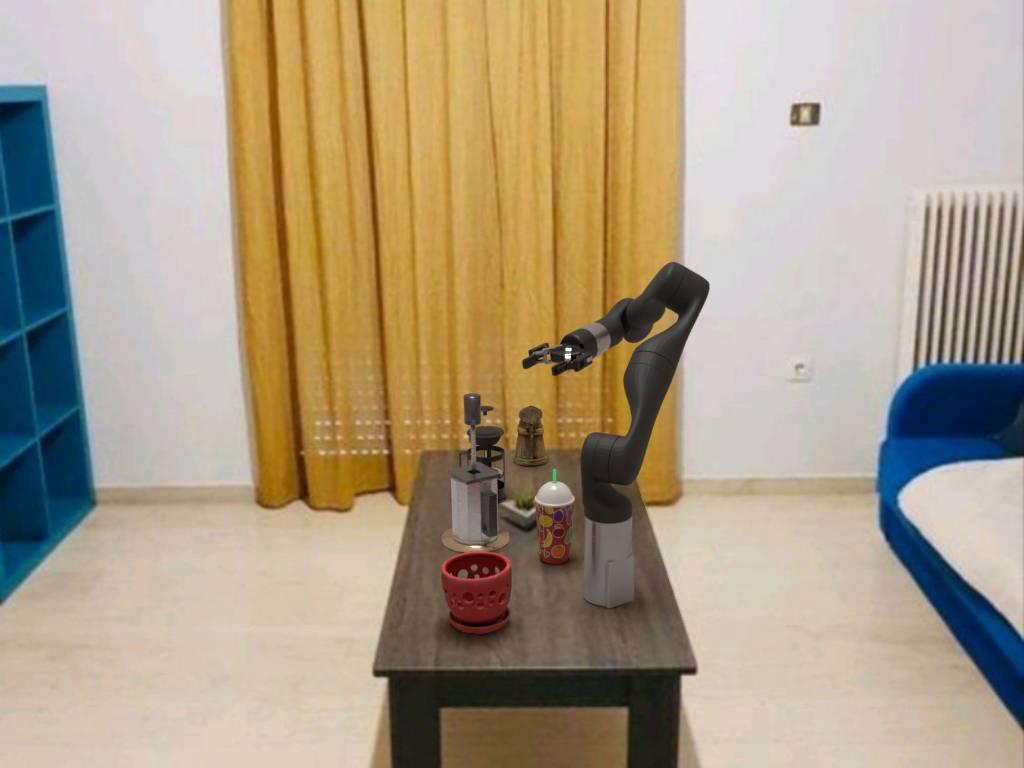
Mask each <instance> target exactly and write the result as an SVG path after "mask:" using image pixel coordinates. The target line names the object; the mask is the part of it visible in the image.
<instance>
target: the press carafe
mask: <svg viewBox="0 0 1024 768" xmlns="http://www.w3.org/2000/svg"><path fill="white" fill-rule="evenodd" d="M447 475H449V476H450V486H451V487H450V493H451V494H450V496H451V527H449V528H448V529H447V530H445V531H444V532H443V533H442V535H441V543H443V544H442V545H443V546H444V547H445V548H447V549H448V548H449V549H448V550H450V549H451V551H453V552H457V553H461V552H463V553H467V552H477V551H483V552H494V551H498V550H500V549H502V548H504V547H505V546H507V545H508V544H509V541H510V537H511V536H510V533H509V532H508V531H507V529H505V528H503V527H502V526H499V510H498V507H499V506H498V505H499V503H498V494H497V478H499V477H501V474H500V473H498V472H497V471H495V470H493V469H491V468H490V467H488V466H486V465H484V464H483V463H481V462H476V474H472V465H471V464H469V465H468V464H467V465H465V466H463V465H462V467H455V468H451V469H447Z"/></svg>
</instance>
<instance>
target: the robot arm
mask: <svg viewBox="0 0 1024 768" xmlns="http://www.w3.org/2000/svg"><path fill="white" fill-rule="evenodd" d="M710 286H711V284H710V282H709V280H707V279H706V278H705V277H703V276H702V275H700V274H699V273H698V272H695V271H693V270H692V269H690V268H689V267H686V266H685V265H683V264H681V263H679V262H676V261H670V262H667V263H666V264H665V265H664V266H662V267H661V268H660V269H659V271H658V272H657V273H656V274H655V276H653V278H652V279H651V281H650V282H648V284H647V285H646V287H645V288H644V290H643V292H641V294H639V295H638V296H637V297H636V298H632V297H625V298H621V300H619V301H617V302H616V303H615V304H614V305H613V306H612V307H611V309H610V310H609V311H607V313H606V314H605V315H604V316H603V317H601V318H599V319H597V320H596V321H594V322H592V323H589V324H586V325H585V324H584V325H583V326H581V327H579V328H578V329H574V331H571V332H569V333H567V334H565V335H564V336H563V337H562V339H561V341H560V342H559V344H555V345H554V346H550V343H549V342H544V343H542V344H540V345H537V346H535V347H533V348H531V349H528V356H527V357H525V358H522V361H521V364H522V369H523V370H528V369H530V368H532V367H534V366H536V365H538V364H539V365H540V364H544V365H550V364H553V365H552V366H551V368H550V369H551V375H552V376H554V377H557V376H559V375H562V374H564V373H565V372H571V371H572V370H573V372H574V373H578V372H580V371H582V370H583V369H585V368H587V367H589V366H590V365H592V364H593V363H594V362H593V360H594V359H596V358H597V357H599V356H601V355H602V354H603V353H605V352H606V351H608V350H609V349H612V348H613V347H615V346H617V345H619V344H620V343H621V342H622V341H623V339H624V340H625V341H626V342H627V343H629V344H635V343H639V342H641V341H642V342H641V343H639V344H638V345H637V347H635V348H634V350H633V351H632V354H631V356H630V359H629V361H628V363H627V365H626V368H625V371H624V373H623V379H622V382H623V385H622V386H623V389H624V393H625V397H626V400H627V403H628V407H629V410H630V415H631V416H630V417H631V422H630V426H629V429H628V431H627V433H626V435H620V434H613V433H607V432H599V431H593V432H591V433H589V434H588V435H587V436H586V437H585V439H584V441H583V443H582V445H581V450H580V462H579V464H580V479H581V480H580V482H581V501H582V507H583V597H584V599H585V600H586V601H588V603H591V604H593V605H595V606H596V605H597V606H600V607H604V608H607V609H612V608H615V607H618V606H621V605H624V604H628V603H631V602H634V600H635V599H634V597H635V556H634V555H633V553H632V546H633V545H632V544H633V543H632V542H633V537H632V536H633V503H632V500H631V499H630V498H629V497H628V496H627V495H625V494H624V493H622V492H621V491H619V490H618V489H616V488H615V487H614V486H613V485H617V486H630V485H632V484H633V483H635V481H636V480H637V477H638V475H639V474H640V471H641V469H642V466H643V463H644V460H645V456H646V453H647V450H648V446H649V442H650V439H651V436H652V433H653V430H654V427H655V424H656V422H657V421H656V420H657V418H658V415H659V413H660V410H661V408H662V406H663V403H664V400H665V398H666V396H667V393H668V391H669V389H670V387H671V384H672V382H673V379H674V376H675V374H676V372H677V368H678V365H679V362H680V359H681V357H682V354H683V351H684V349H685V346H686V344H687V341H688V339H689V336H690V334H691V332H692V331H693V328H694V326H695V324H696V323H697V320H698V318H699V316H700V313H701V312H702V309H703V307H704V305H705V303H706V301H707V299H708V297H709V292H710V289H711V288H710ZM667 309H668V310H670V311H672V312H673V313H675V314H676V315H677V320H676V322H674V323H673V324H672V325H670V326H669V327H667V328H666V329H665V330H663V331H661V332H659V333H657V334H655V335H652V336H651V337H649V338H648V339H646V338H647V337H648V336H649V335H650V333H651V332H652V330H653V328H654V324H656V323H657V322H659V321H660V320H661V319H662V318H663V316H664V315H665V312H666V310H667ZM643 340H644V341H643ZM548 355H549V358H550V359H548ZM612 484H613V485H612Z"/></svg>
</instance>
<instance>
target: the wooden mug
mask: <svg viewBox="0 0 1024 768" xmlns="http://www.w3.org/2000/svg"><path fill="white" fill-rule="evenodd" d="M518 417H519V421H518V425H517V431H516V432H517V437H516V443H515V450H514V451H515V452H514V455H513V463H515V464H516V465H518V466H522V467H539V466H542V465H545V464H546V463H547V462H548V455H547V453H546V446H545V439H544V433H545V429H544V425H543V422H542V420H541V419H542V418H543V410H541V409H540V408H538V407H537V406H533V405H528V406H525V407H523V408H522V409H520V411H518Z"/></svg>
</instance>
